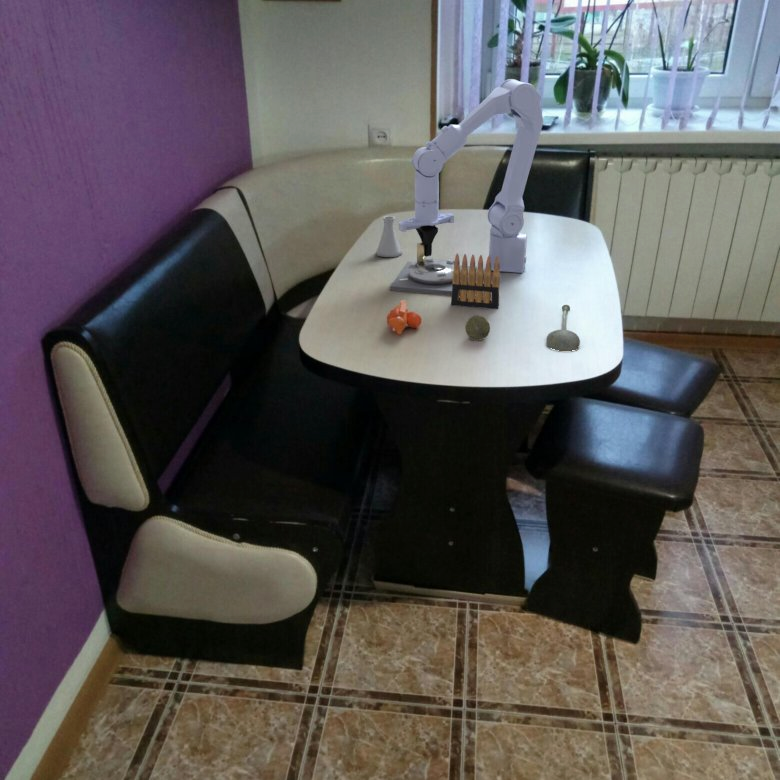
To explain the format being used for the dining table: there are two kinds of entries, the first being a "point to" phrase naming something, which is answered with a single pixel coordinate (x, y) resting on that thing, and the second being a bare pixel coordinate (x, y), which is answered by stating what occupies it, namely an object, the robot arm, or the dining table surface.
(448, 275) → the crank wheel with handle
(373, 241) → the dining table surface
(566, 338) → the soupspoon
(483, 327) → the lime
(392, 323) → the orange toy bird
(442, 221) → the robot arm
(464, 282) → the ammunition clip
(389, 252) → the flask
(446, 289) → the cap plate
